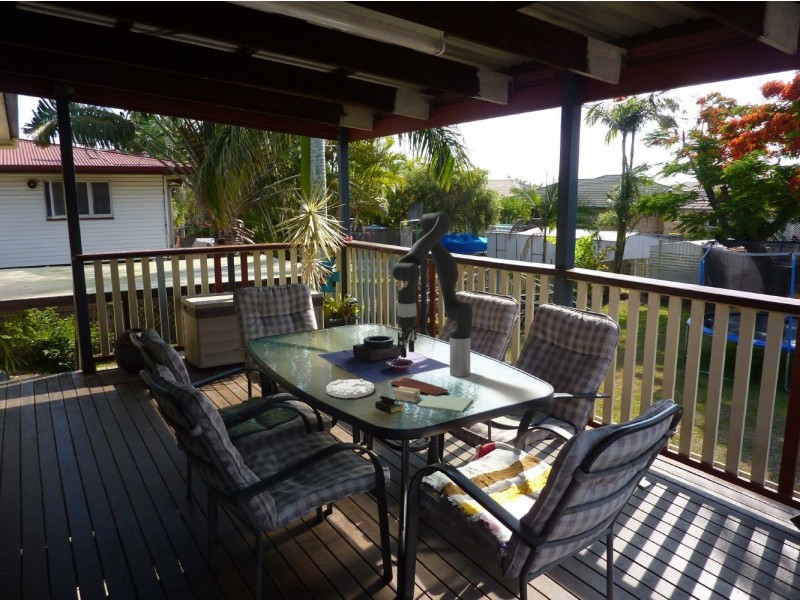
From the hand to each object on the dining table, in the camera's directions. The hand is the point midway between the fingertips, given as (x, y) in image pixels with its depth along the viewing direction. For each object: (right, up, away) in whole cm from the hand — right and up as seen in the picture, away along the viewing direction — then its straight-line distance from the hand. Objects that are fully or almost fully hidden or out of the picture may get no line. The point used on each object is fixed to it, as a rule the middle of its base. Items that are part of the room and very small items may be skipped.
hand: (407, 354), depth 228 cm
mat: (+15, -19, -3) cm, 24 cm away
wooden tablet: (+5, -16, +15) cm, 22 cm away
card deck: (0, -18, +3) cm, 19 cm away
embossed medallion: (-24, -17, +14) cm, 33 cm away
